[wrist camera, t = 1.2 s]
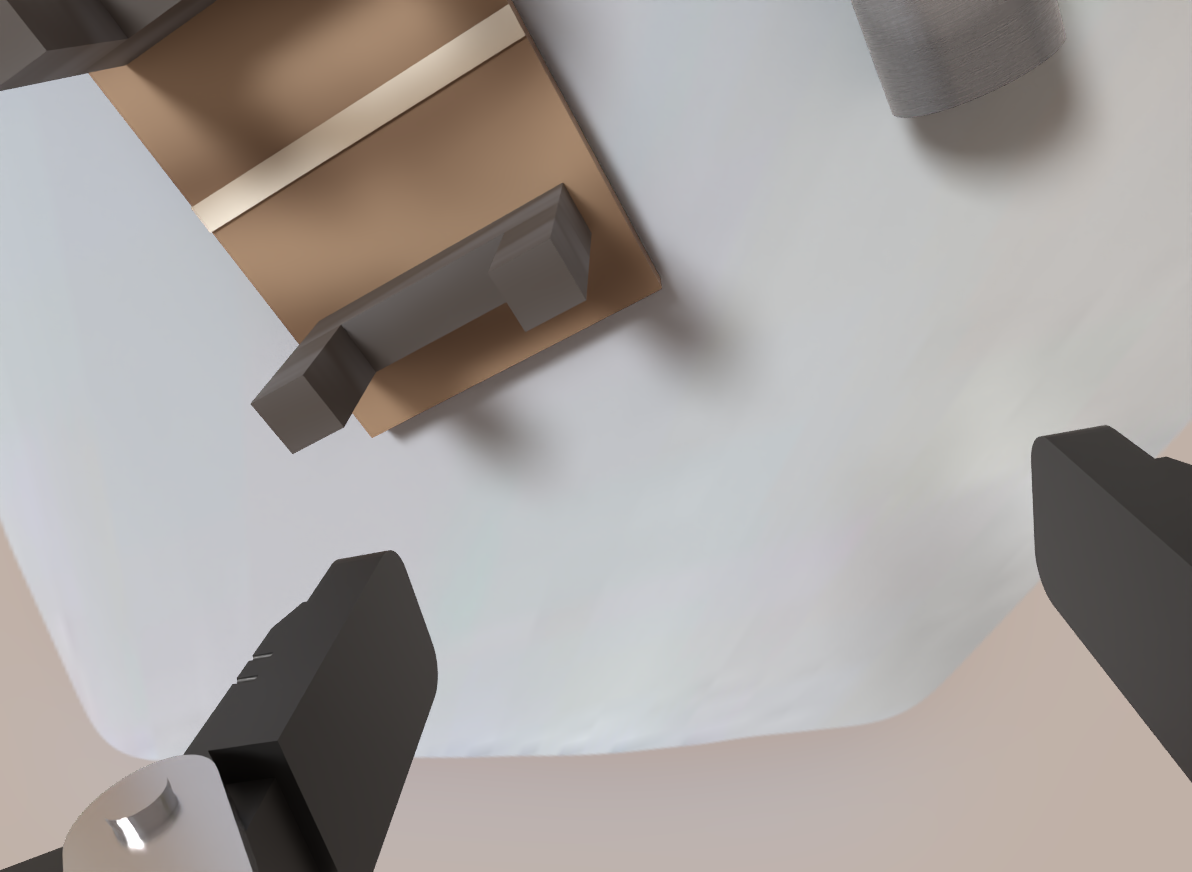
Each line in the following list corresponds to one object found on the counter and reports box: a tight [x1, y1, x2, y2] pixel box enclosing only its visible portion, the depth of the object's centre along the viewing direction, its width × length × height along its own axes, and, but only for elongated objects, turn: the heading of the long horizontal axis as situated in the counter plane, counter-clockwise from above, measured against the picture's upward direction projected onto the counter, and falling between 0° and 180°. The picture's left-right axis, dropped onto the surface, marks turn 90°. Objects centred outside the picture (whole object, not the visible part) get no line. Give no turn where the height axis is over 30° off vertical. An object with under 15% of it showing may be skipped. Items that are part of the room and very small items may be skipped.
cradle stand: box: [0, 0, 662, 454], centre depth 26 cm, size 20×13×8 cm, turn 29°
